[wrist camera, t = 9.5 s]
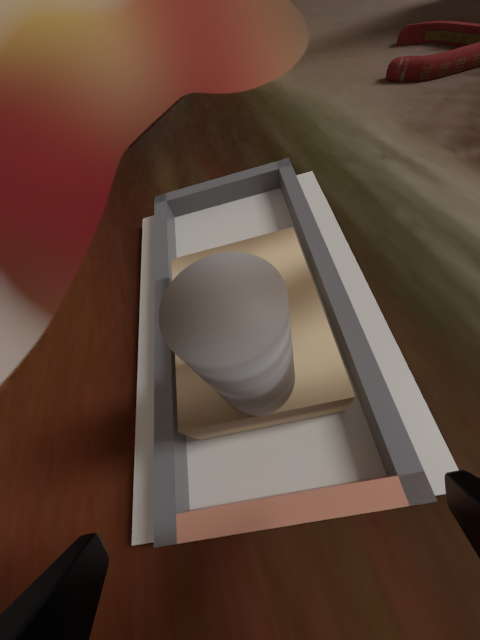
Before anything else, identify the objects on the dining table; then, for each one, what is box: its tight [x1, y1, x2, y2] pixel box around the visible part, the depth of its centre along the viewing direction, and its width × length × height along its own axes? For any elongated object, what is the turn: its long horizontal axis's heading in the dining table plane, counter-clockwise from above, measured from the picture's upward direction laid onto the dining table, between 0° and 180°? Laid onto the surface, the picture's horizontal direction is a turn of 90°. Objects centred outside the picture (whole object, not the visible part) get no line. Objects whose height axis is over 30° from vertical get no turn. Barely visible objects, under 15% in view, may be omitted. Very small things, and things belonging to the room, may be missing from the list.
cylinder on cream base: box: [158, 227, 355, 440], centre depth 15 cm, size 12×9×11 cm
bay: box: [132, 158, 458, 548], centre depth 21 cm, size 27×18×3 cm, turn 9°
